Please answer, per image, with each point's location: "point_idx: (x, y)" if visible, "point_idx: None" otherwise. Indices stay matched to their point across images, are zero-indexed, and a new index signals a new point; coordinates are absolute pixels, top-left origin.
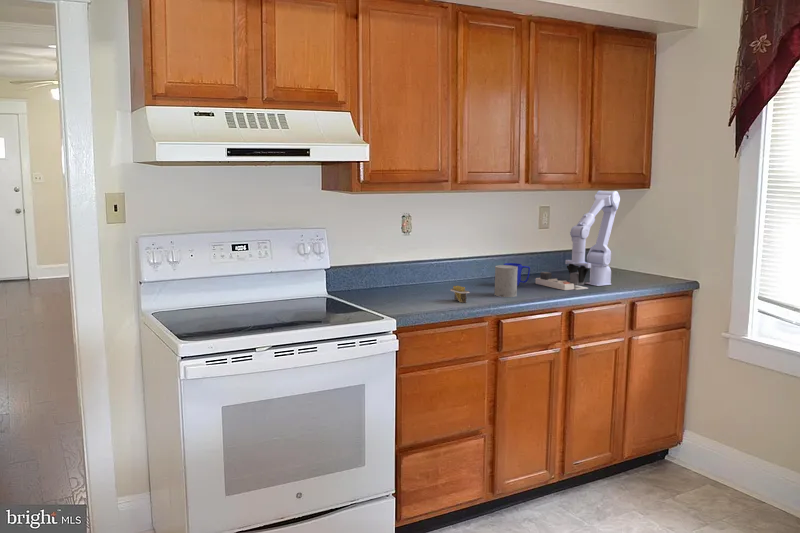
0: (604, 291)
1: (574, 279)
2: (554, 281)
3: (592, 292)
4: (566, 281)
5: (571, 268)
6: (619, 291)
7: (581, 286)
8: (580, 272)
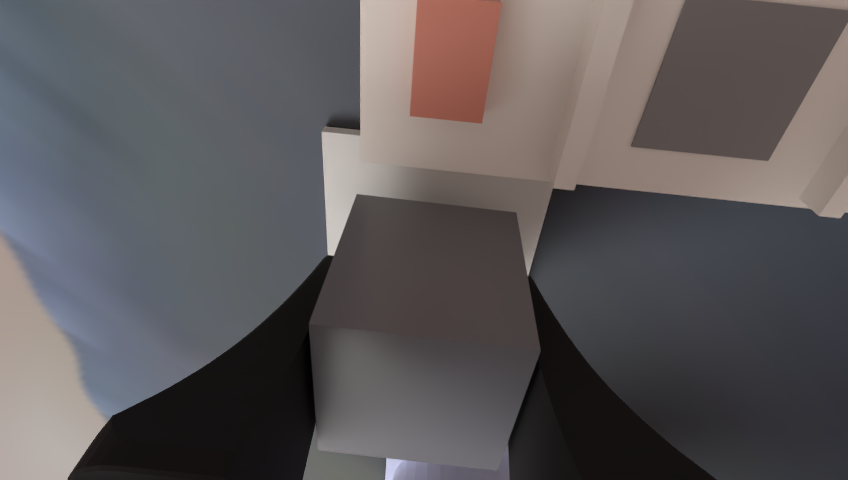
0: (124, 300)
1: (403, 251)
2: (792, 31)
3: (75, 149)
4: (551, 179)
5: (556, 472)
6: (102, 385)
7: None
8: (206, 372)
